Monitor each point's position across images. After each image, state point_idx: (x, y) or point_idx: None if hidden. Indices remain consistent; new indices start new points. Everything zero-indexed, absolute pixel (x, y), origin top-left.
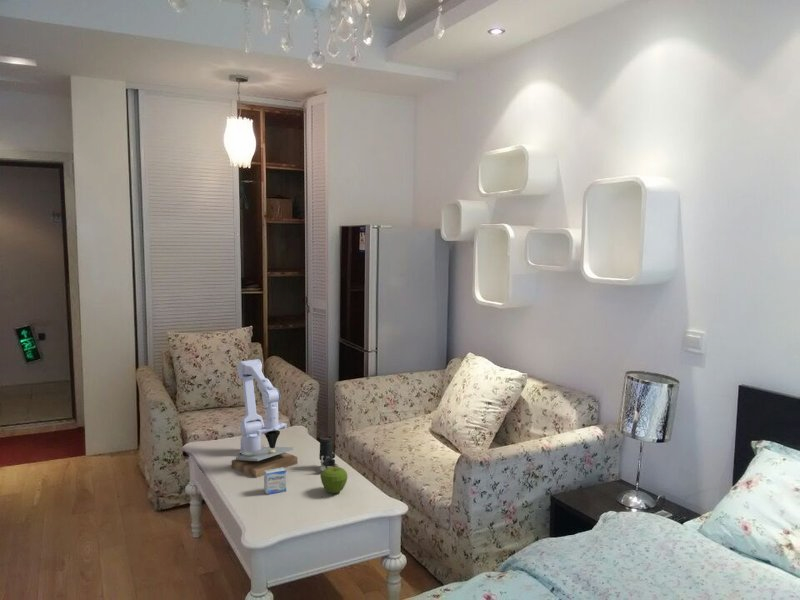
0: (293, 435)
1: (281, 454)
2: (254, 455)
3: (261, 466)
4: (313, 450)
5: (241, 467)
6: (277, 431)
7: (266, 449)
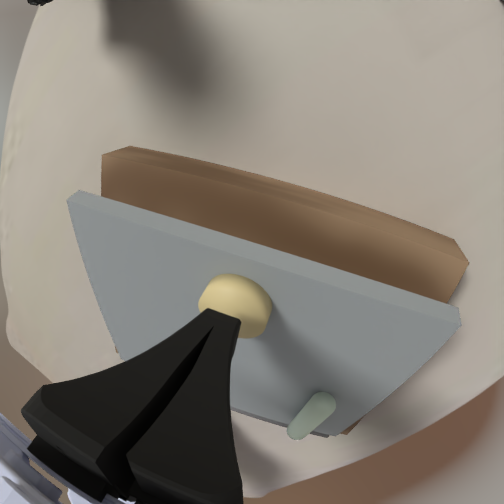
0: (25, 331)
1: None
2: (312, 387)
3: (383, 275)
4: (18, 199)
5: None
6: (53, 442)
7: None
